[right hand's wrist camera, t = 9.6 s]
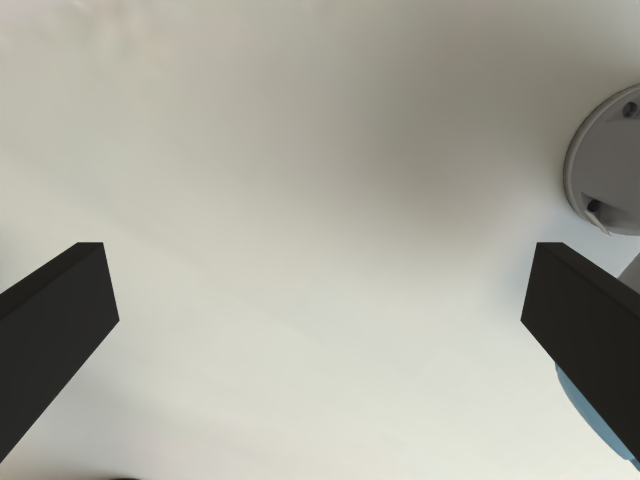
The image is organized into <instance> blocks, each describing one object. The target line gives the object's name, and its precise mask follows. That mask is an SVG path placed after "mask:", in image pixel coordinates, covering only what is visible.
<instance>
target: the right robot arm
mask: <svg viewBox="0 0 640 480" xmlns="http://www.w3.org/2000/svg"><path fill="white" fill-rule="evenodd" d="M564 187H565V191H566V195H567V197H568V200H569V202H570V204H571V205H572V207H573V208H574V210H575V211H576V212H577V213H578V214H579V215H580V216H581V217H582V218H583V219H585V220H586V221H588V222H590V223H592V224H593V225H595V226H597V227H599V228H600V229H601V230H602V231H603V232H605V233H606V234H608V235H610V234H609V232H608V231H610V232H614V233H618V234H623V235H633V236H640V84H639V85H636V86H633V87H630V88H628V89H626V90H623V91H621V92H620V93H618V94H616V95H614V96H613V97H611V98H610V99H608V100H607V101H605V102H604V103H603V104H601V105H600V106H599V107H598V108H597V109H596V110H595V111H594V112H593V113H592V114H591V115H590V116H589V117H588V118H587V119H586V120H585V122H584V123H583V124H582V126H581V127H580V128H579V130H578V131H577V133H576V135H575V136H574V138H573V140H572V142H571V145H570V147H569V150H568V152H567V156H566V159H565V165H564ZM610 236H611V235H610ZM119 321H120V320H119V316H118V311H117V306H116V301H115V297H114V292H113V287H112V283H111V278H110V273H109V268H108V264H107V259H106V254H105V250H104V245H103V242H77V243H76V244H74V245H73V246H71V247H70V248H69V249H67V250H66V251H64V252H63V253H61V254H60V255H58V256H57V257H55V258H54V259H52V260H51V261H49V262H48V263H46V264H45V265H43V266H42V267H40V268H39V269H37V270H36V271H34V272H33V273H31V274H30V275H28V276H27V277H25V278H24V279H22V280H21V281H19V282H18V283H16V284H15V285H13V286H12V287H10V288H9V289H7V290H6V291H4V292H3V293H1V294H0V463H1V462H2V461H3V460H4V458H5V457H6V456H7V455H8V454H9V452H10V451H11V450H12V449H13V448H14V446H15V445H16V444H17V443H18V442H19V440H20V439H21V438H22V437H23V436H24V434H25V433H26V432H27V431H28V430H29V428H30V427H31V426H32V425H33V424H34V422H35V421H36V420H37V419H38V418H39V416H40V415H41V414H42V413H43V412H44V410H45V409H46V408H47V407H48V406H49V404H50V403H51V402H52V401H53V400H54V398H55V397H56V396H57V395H58V394H59V392H60V391H61V390H62V389H63V388H64V386H65V385H66V384H67V383H68V382H69V381H70V379H71V378H72V377H73V376H74V375H75V373H76V372H77V371H78V370H79V369H80V367H81V366H82V365H83V364H84V363H85V361H86V360H87V359H88V358H89V357H90V355H91V354H92V353H93V352H94V351H95V349H96V348H97V347H98V346H99V345H100V343H101V342H102V341H103V340H104V339H105V337H106V336H107V335H108V334H109V333H110V331H111V330H112V329H113V328H114V327H115V325H116V324H117V323H118V322H119ZM520 321H521V322H522V323H523V324H524V325H525V327H526V328H527V329H528V330H529V331H530V333H531V334H532V335H533V336H534V337H535V339H536V340H537V341H538V342H539V343H540V345H541V346H542V347H543V348H544V349H545V351H546V352H547V353H548V354H549V355H550V357H551V358H552V359H553V360H554V361H555V367H556V371H557V374H558V378H559V381H560V384H561V386H562V388H563V390H564V391H565V393H566V395H567V396H568V398H569V399H570V401H571V402H572V404H573V405H574V407H575V408H576V409H577V411H578V412H579V413H580V415H581V416H582V417H583V418H584V419H585V421H586V422H587V423H588V424H589V425H590V426H591V428H592V429H593V430H594V431H595V432H596V433H597V434H598V435H599V436H600V437H601V438H602V439H603V441H604V442H605V443H606V444H608V445H609V446H610V447H611V448H612V449H613V450H614V451H615V452H616V453H617V454H618V455H619V456H621V457H622V458H623V459H625V460H630V462H631V463H632V464H633V465H634V466H635V467H636V469H637V470H638V471H639V472H640V253H639V254H638V255H637V256H636V258H635V259H634V260H633V261H632V262H631V263H630V264H629V266H628V267H627V268H626V269H625V270H624V271H623V273H622V274H621V275H620V276H619V277H618V278H617V279H616V278H615V277H613V276H612V275H610V274H609V273H607V272H606V271H604V270H603V269H601V268H600V267H598V266H597V265H595V264H594V263H592V262H591V261H589V260H588V259H586V258H585V257H583V256H582V255H580V254H579V253H577V252H576V251H574V250H573V249H571V248H570V247H569V246H567V245H566V244H564V243H563V242H537V245H536V250H535V254H534V259H533V264H532V268H531V273H530V278H529V283H528V287H527V292H526V297H525V301H524V306H523V311H522V316H521V320H520Z"/></svg>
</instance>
